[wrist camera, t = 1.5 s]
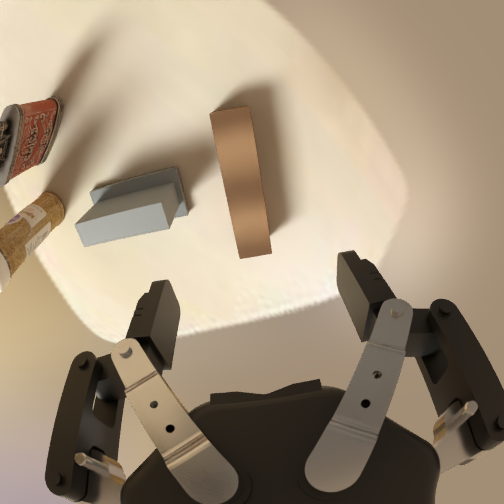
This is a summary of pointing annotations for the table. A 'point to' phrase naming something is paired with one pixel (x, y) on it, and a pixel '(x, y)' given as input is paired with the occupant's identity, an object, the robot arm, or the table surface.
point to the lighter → (27, 135)
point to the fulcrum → (133, 207)
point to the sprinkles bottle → (27, 233)
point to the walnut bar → (242, 180)
